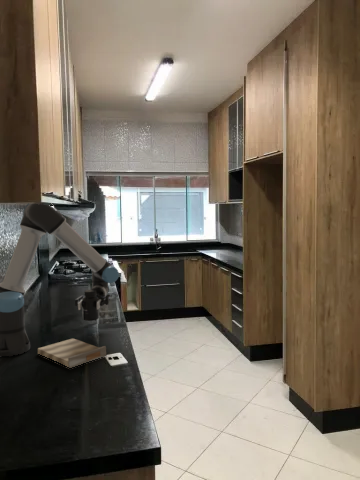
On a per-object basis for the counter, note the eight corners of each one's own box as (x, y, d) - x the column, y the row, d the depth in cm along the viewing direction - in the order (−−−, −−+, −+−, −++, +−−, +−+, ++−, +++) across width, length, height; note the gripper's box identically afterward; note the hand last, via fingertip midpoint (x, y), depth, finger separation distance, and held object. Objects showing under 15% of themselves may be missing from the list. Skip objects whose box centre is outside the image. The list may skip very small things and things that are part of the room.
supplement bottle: (80, 321, 158) (79, 292, 157) (84, 316, 164) (83, 289, 164) (97, 321, 158) (96, 292, 157) (100, 316, 165) (99, 289, 164)
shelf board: (37, 354, 152) (37, 344, 152) (72, 344, 164) (72, 334, 164) (70, 369, 137) (70, 358, 137) (106, 356, 149) (106, 346, 149)
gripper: (118, 302, 179) (113, 314, 156) (76, 303, 178) (64, 316, 155) (118, 286, 179) (112, 296, 156) (75, 287, 178) (63, 298, 155)
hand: (88, 306), depth 156 cm, fingers closed on supplement bottle, 7 cm apart
